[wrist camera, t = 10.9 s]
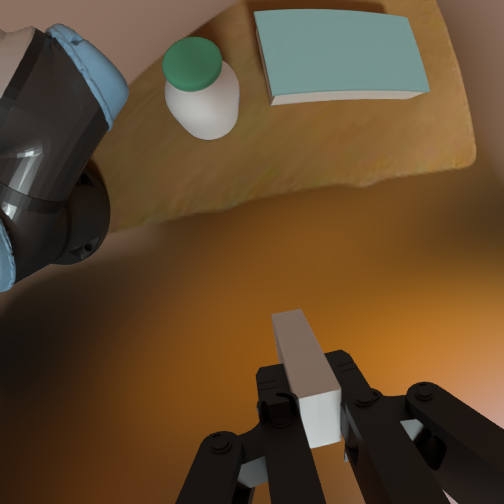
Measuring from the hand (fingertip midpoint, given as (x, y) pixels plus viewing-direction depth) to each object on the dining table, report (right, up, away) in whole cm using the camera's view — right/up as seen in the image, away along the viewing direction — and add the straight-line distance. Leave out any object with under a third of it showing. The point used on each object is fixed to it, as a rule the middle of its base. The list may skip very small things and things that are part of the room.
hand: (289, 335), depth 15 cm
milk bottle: (-8, +23, +24) cm, 34 cm away
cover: (+11, +31, +17) cm, 37 cm away
